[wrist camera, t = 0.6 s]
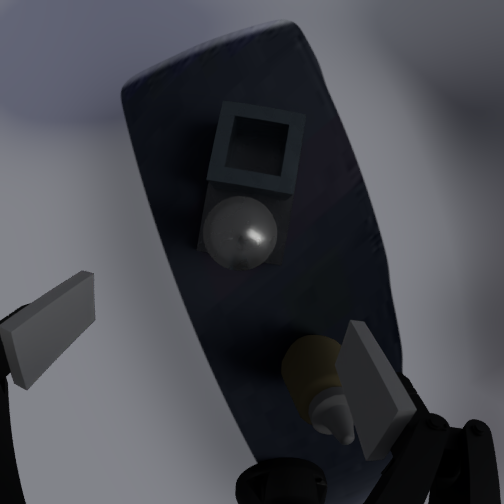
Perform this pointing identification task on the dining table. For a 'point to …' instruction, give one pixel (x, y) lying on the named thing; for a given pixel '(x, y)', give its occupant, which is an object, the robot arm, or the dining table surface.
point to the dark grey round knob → (240, 233)
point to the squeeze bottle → (318, 386)
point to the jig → (256, 163)
